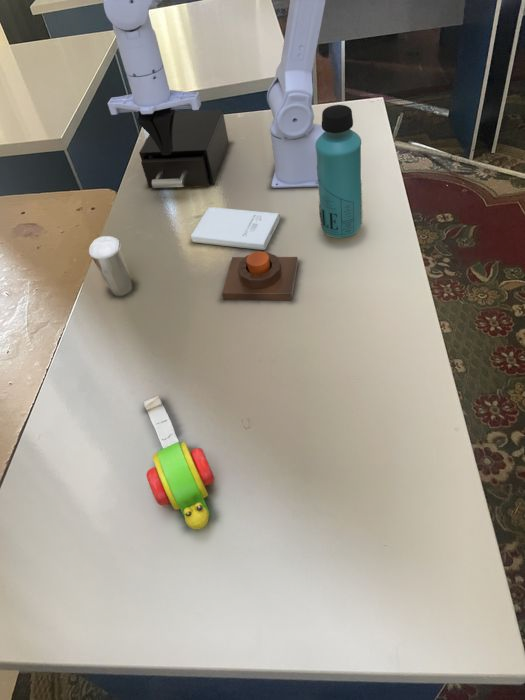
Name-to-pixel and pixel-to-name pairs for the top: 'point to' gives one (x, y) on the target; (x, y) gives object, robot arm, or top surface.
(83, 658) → the top surface
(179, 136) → the small drawer cabinet
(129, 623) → the top surface
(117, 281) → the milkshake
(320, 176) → the beverage bottle
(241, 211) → the hard drive
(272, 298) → the control block
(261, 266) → the release button
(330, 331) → the top surface
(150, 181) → the black drawer
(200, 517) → the toy measuring tape
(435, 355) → the top surface
